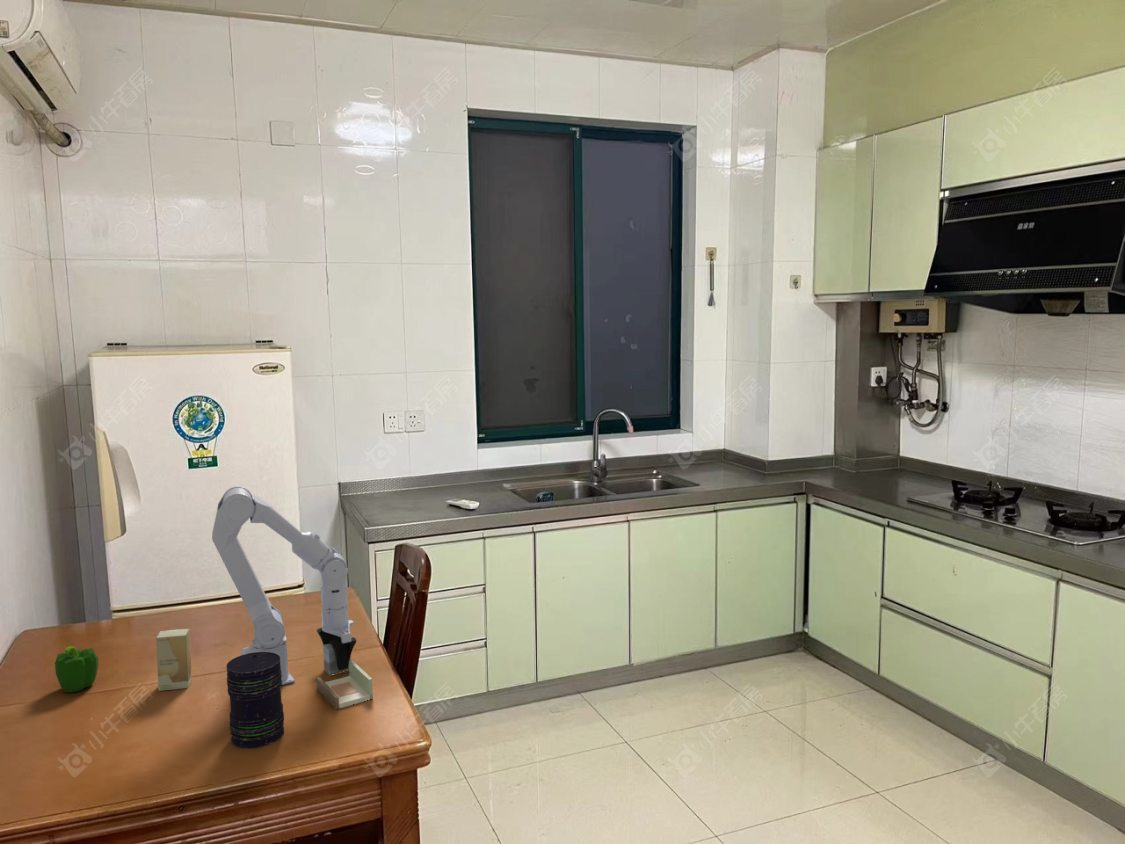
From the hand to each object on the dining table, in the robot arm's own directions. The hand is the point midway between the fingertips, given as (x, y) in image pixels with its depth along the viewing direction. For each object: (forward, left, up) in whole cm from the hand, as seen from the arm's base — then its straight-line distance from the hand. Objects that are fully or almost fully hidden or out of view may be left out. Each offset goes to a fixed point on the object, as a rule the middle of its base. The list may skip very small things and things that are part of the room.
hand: (337, 663), depth 188 cm
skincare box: (-32, +13, -2) cm, 35 cm away
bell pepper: (-50, +25, -2) cm, 56 cm away
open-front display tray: (-3, -13, -2) cm, 13 cm away
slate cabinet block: (0, 0, -2) cm, 2 cm away
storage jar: (-23, -21, -2) cm, 31 cm away
